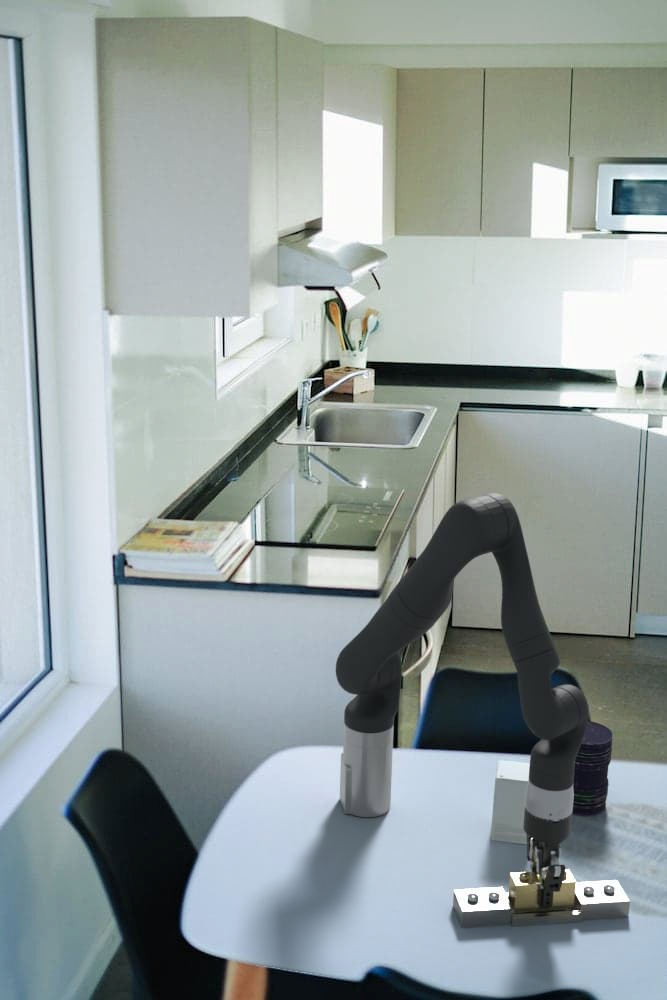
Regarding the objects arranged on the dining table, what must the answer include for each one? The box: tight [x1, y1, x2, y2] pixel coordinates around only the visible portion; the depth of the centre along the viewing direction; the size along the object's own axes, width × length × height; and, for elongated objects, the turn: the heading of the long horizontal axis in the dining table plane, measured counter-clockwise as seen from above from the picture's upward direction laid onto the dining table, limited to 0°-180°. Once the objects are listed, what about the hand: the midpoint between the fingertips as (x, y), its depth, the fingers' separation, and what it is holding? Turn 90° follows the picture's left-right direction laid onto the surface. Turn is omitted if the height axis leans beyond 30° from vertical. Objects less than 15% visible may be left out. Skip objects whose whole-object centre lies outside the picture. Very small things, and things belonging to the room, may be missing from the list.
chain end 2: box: [545, 879, 631, 925], centre depth 205 cm, size 14×7×4 cm, turn 98°
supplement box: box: [490, 759, 530, 846], centre depth 226 cm, size 7×7×13 cm
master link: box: [508, 868, 577, 913], centre depth 203 cm, size 10×4×6 cm, turn 99°
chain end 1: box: [452, 886, 548, 929], centre depth 203 cm, size 14×7×4 cm, turn 98°
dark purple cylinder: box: [572, 720, 614, 817], centre depth 236 cm, size 10×10×15 cm
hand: (541, 898), depth 204 cm, fingers open, 3 cm apart
